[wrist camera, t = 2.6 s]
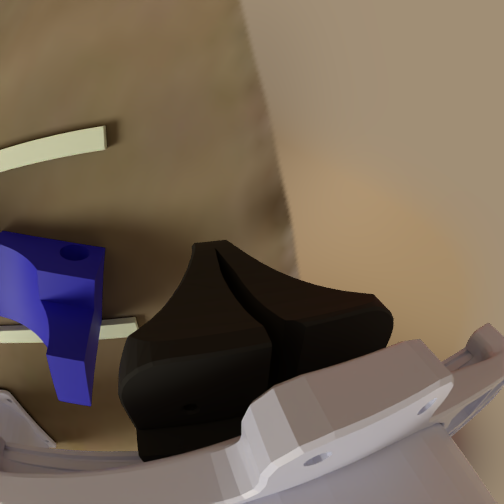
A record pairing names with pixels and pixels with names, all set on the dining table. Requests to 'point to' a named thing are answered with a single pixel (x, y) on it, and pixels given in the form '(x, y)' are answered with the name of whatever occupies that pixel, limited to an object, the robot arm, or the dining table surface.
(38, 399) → the dining table surface
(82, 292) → the cable clip
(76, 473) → the robot arm
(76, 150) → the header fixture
